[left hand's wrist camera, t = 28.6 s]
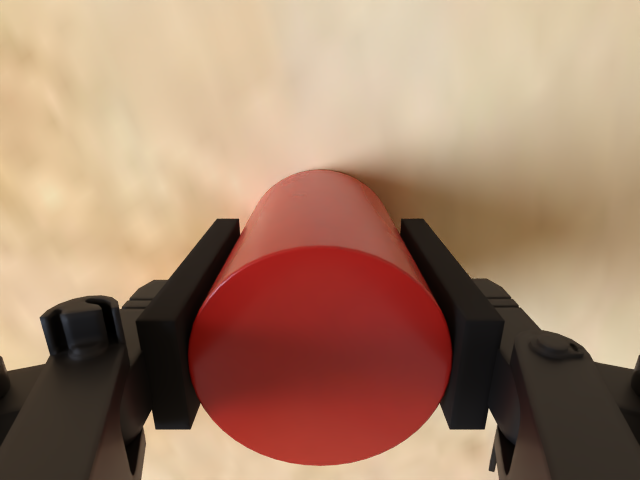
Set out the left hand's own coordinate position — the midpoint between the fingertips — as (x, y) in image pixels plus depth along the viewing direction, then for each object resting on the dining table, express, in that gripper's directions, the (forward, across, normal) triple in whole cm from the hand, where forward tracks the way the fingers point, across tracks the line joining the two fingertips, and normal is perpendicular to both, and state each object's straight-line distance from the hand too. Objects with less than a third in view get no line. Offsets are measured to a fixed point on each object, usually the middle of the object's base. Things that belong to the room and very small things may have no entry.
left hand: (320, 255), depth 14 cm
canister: (+2, 0, 0) cm, 2 cm away
